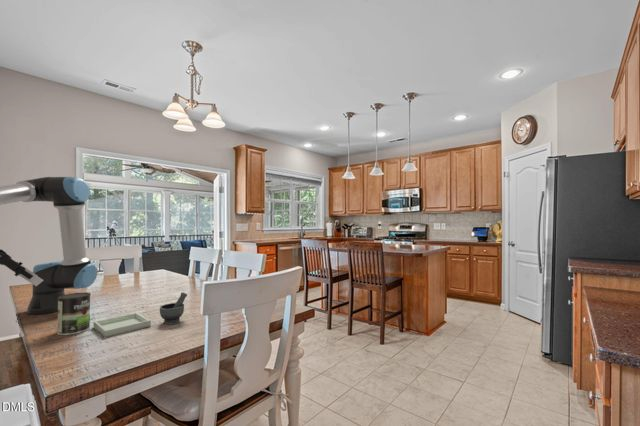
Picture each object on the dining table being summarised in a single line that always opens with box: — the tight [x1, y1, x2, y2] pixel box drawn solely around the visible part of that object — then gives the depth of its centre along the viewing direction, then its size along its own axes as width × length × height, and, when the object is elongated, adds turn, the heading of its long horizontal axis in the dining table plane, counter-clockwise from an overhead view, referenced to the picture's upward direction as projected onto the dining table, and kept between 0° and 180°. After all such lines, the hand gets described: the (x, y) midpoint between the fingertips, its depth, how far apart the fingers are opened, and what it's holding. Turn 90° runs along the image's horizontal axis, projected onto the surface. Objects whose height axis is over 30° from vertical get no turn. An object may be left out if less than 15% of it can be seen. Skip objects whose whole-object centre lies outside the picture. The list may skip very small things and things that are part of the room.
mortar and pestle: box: [159, 292, 188, 325], centre depth 134 cm, size 11×9×12 cm
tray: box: [93, 312, 152, 338], centre depth 127 cm, size 16×16×2 cm
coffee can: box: [56, 292, 91, 336], centre depth 123 cm, size 10×10×14 cm
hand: (37, 280), depth 114 cm, fingers open, 13 cm apart
